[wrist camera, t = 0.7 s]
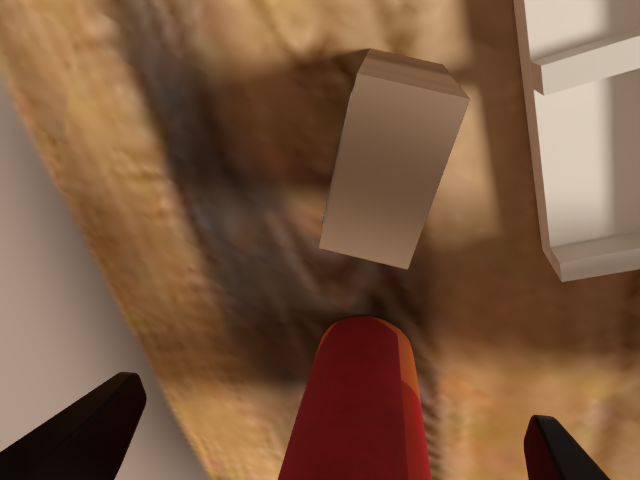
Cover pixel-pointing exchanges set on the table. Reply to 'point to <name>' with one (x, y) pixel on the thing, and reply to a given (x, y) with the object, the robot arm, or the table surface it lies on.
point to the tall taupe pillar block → (391, 157)
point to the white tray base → (584, 130)
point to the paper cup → (360, 408)
